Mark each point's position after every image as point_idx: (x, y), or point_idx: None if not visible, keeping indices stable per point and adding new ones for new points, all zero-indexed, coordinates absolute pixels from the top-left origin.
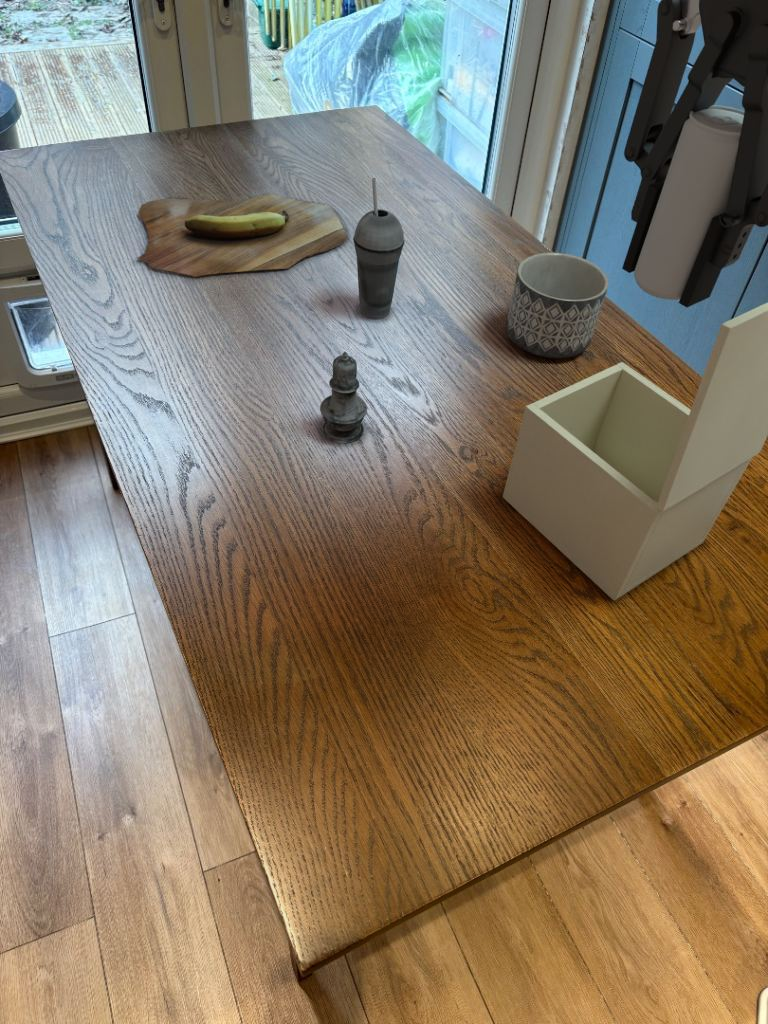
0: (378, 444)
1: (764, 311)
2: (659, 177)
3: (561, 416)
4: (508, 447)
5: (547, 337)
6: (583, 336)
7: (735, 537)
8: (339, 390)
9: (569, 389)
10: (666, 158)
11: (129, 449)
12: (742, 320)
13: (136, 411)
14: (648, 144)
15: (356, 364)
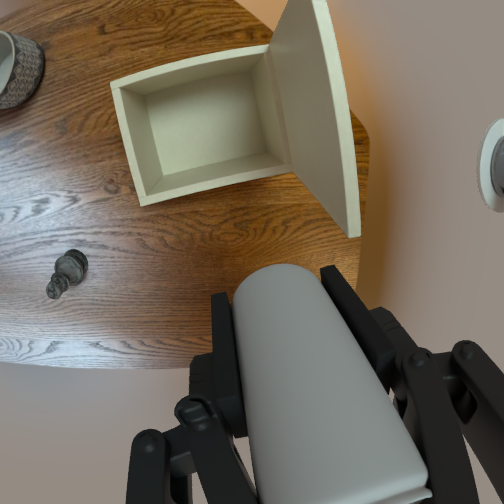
0: (91, 245)
1: (355, 159)
2: (230, 434)
3: (142, 156)
4: (114, 153)
5: (26, 87)
6: (34, 55)
7: (259, 40)
8: (67, 288)
9: (130, 155)
10: (247, 473)
11: (85, 363)
12: (356, 206)
13: (58, 354)
14: (173, 470)
15: (54, 285)
